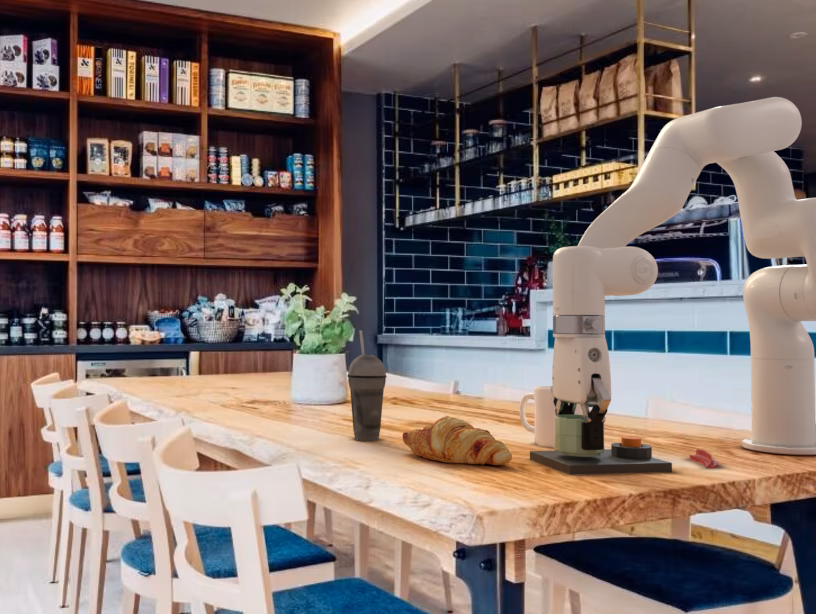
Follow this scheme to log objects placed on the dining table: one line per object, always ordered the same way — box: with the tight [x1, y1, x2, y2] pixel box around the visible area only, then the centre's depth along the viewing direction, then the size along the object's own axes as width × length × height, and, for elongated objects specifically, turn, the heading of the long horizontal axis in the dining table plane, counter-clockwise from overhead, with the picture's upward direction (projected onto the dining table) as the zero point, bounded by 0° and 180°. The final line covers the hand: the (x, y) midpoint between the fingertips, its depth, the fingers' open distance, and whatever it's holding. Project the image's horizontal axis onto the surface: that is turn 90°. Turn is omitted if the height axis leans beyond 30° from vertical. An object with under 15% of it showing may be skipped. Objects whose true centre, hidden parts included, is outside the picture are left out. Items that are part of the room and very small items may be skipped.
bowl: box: [554, 414, 605, 457], centre depth 125 cm, size 7×7×6 cm
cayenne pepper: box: [688, 448, 719, 470], centre depth 129 cm, size 12×5×2 cm, turn 149°
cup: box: [519, 385, 583, 449], centre depth 148 cm, size 8×12×10 cm
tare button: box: [620, 435, 642, 447], centre depth 127 cm, size 3×3×2 cm
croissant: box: [402, 415, 513, 466], centre depth 130 cm, size 21×10×8 cm, turn 42°
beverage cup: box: [347, 329, 387, 442], centre depth 153 cm, size 7×7×20 cm
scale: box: [529, 442, 673, 476], centre depth 126 cm, size 16×13×3 cm
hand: (579, 444), depth 125 cm, fingers closed on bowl, 7 cm apart
